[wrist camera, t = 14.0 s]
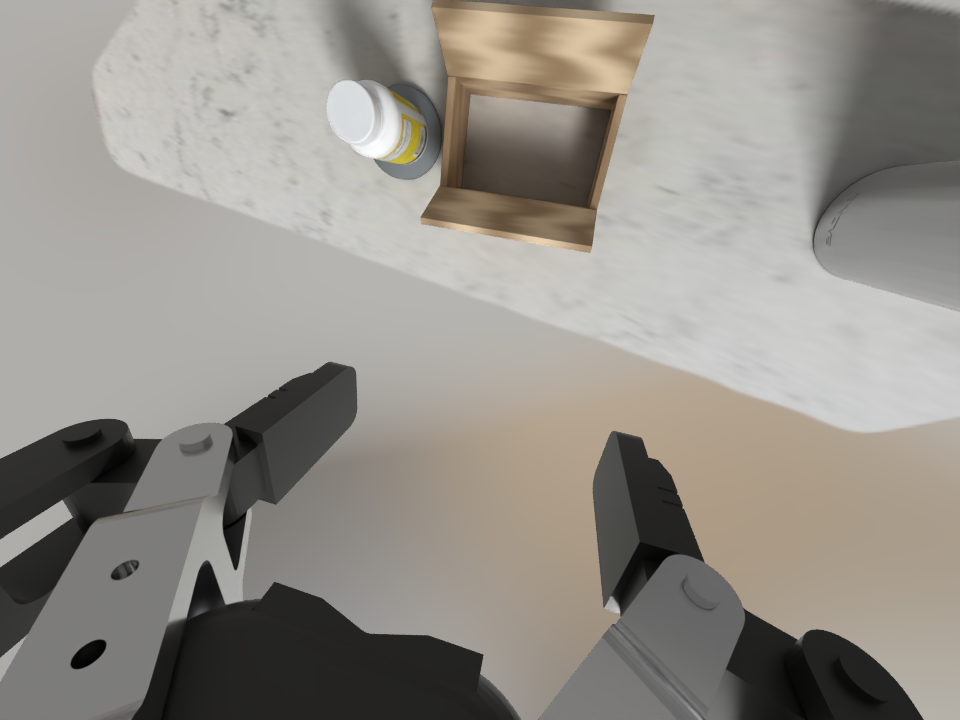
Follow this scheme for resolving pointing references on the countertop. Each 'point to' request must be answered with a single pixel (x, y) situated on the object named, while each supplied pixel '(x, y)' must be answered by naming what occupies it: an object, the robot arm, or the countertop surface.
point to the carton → (534, 77)
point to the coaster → (434, 137)
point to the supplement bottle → (377, 121)
